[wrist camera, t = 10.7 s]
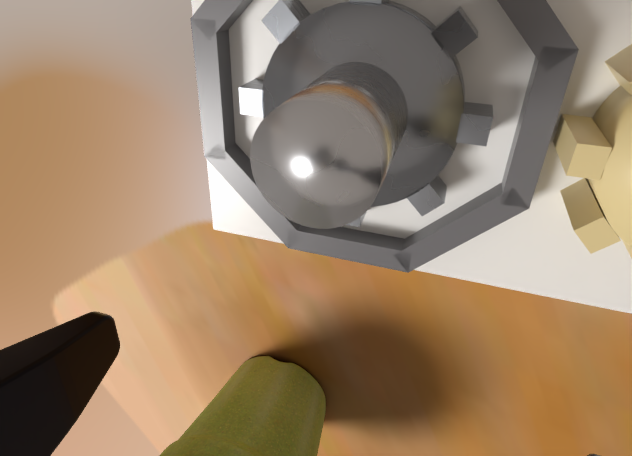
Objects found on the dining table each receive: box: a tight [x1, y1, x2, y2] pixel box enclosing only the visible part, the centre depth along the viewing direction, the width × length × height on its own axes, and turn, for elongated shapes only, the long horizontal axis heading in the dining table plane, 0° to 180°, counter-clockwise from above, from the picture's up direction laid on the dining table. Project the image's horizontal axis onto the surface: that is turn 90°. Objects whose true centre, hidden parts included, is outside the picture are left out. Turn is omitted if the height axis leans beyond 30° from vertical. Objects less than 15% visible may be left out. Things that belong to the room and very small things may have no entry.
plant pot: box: [160, 356, 326, 456], centre depth 26 cm, size 9×9×9 cm
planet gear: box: [239, 0, 493, 229], centre depth 15 cm, size 9×9×6 cm
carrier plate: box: [191, 0, 632, 314], centre depth 16 cm, size 22×14×4 cm, turn 88°
